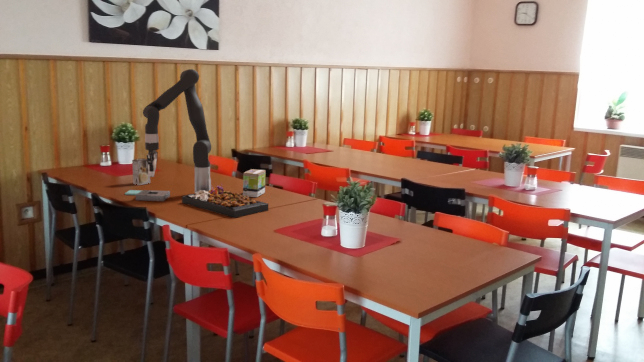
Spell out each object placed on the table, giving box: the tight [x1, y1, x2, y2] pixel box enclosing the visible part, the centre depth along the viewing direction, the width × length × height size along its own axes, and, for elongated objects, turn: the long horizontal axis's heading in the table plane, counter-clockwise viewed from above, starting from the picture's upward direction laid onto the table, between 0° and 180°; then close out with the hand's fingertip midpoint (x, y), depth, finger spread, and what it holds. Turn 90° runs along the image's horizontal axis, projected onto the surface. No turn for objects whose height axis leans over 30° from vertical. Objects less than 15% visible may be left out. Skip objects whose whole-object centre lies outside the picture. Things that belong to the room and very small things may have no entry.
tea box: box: [242, 168, 267, 198], centre depth 353 cm, size 15×10×15 cm, turn 168°
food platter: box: [181, 182, 269, 219], centre depth 321 cm, size 45×25×10 cm, turn 50°
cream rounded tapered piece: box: [148, 158, 158, 178], centre depth 332 cm, size 4×4×10 cm
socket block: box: [135, 189, 171, 202], centre depth 335 cm, size 16×14×3 cm
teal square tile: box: [124, 189, 143, 196], centre depth 345 cm, size 9×9×1 cm
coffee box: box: [131, 158, 151, 186], centre depth 372 cm, size 9×6×16 cm
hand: (152, 170), depth 332 cm, fingers closed on cream rounded tapered piece, 4 cm apart
